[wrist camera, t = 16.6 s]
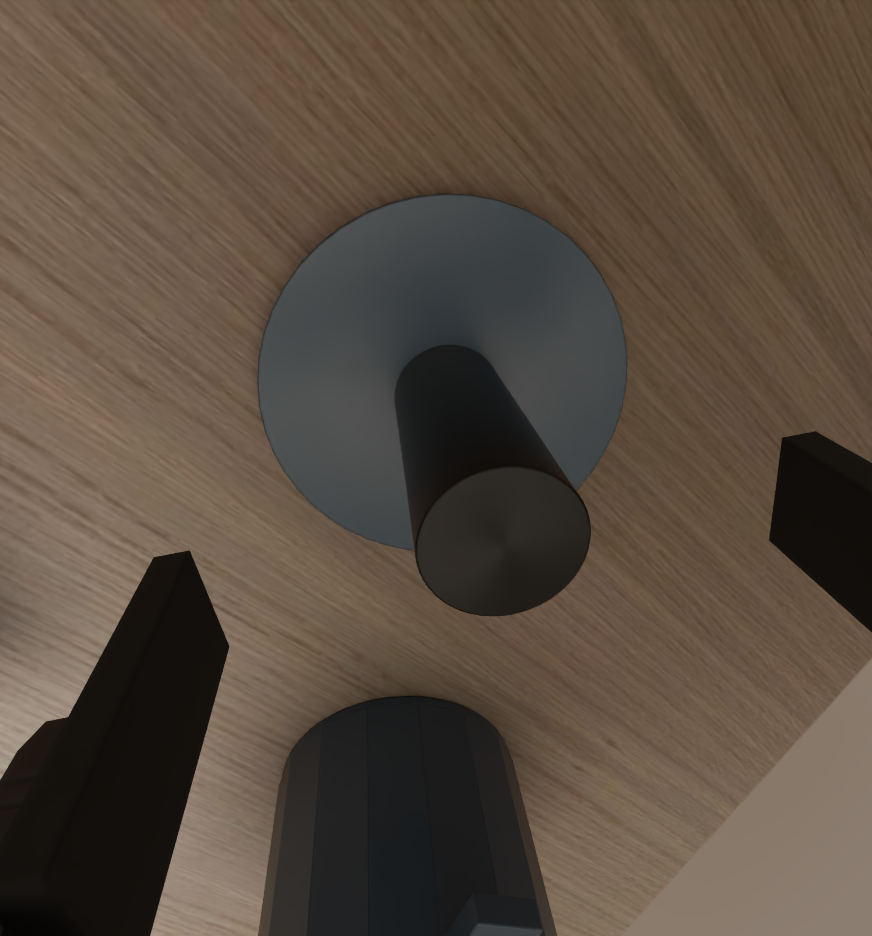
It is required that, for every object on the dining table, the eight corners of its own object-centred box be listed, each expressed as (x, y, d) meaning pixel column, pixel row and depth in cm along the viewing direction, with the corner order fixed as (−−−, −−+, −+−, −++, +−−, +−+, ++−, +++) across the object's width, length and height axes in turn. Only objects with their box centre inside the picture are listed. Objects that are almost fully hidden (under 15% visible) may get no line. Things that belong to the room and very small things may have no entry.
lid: (680, 279, 22) (934, 363, 12) (526, 568, 28) (619, 791, 18) (323, 122, 19) (279, 64, 9) (224, 487, 24) (126, 707, 14)
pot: (569, 684, 31) (682, 967, 20) (443, 886, 38) (476, 1181, 27) (337, 633, 28) (319, 936, 17) (245, 863, 35) (189, 1187, 24)
